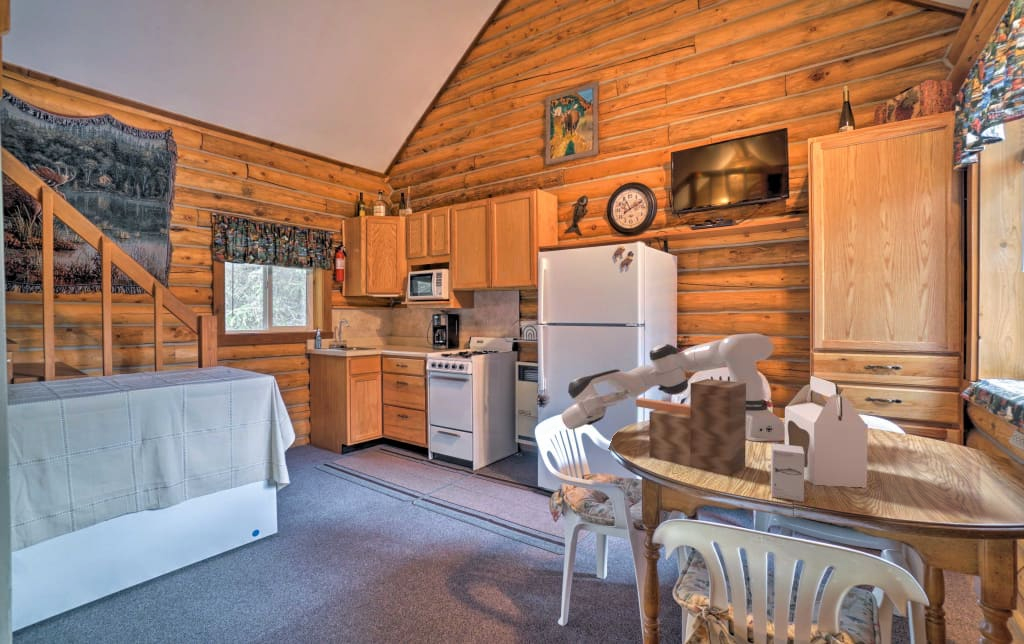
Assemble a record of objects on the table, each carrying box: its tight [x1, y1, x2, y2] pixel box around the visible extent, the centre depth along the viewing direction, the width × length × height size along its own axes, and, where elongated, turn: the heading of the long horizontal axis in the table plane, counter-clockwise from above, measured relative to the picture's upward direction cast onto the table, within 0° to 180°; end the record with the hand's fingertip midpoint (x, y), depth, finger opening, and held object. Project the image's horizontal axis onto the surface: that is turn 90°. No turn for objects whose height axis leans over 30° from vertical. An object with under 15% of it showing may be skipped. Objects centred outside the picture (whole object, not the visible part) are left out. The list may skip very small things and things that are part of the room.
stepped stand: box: [648, 378, 747, 477], centre depth 152 cm, size 26×12×26 cm, turn 44°
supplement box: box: [770, 442, 805, 503], centre depth 124 cm, size 7×7×13 cm
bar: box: [635, 397, 690, 415], centre depth 159 cm, size 20×4×2 cm, turn 44°
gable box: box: [784, 375, 869, 489], centre depth 140 cm, size 22×13×28 cm, turn 169°
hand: (621, 392), depth 171 cm, fingers open, 8 cm apart
